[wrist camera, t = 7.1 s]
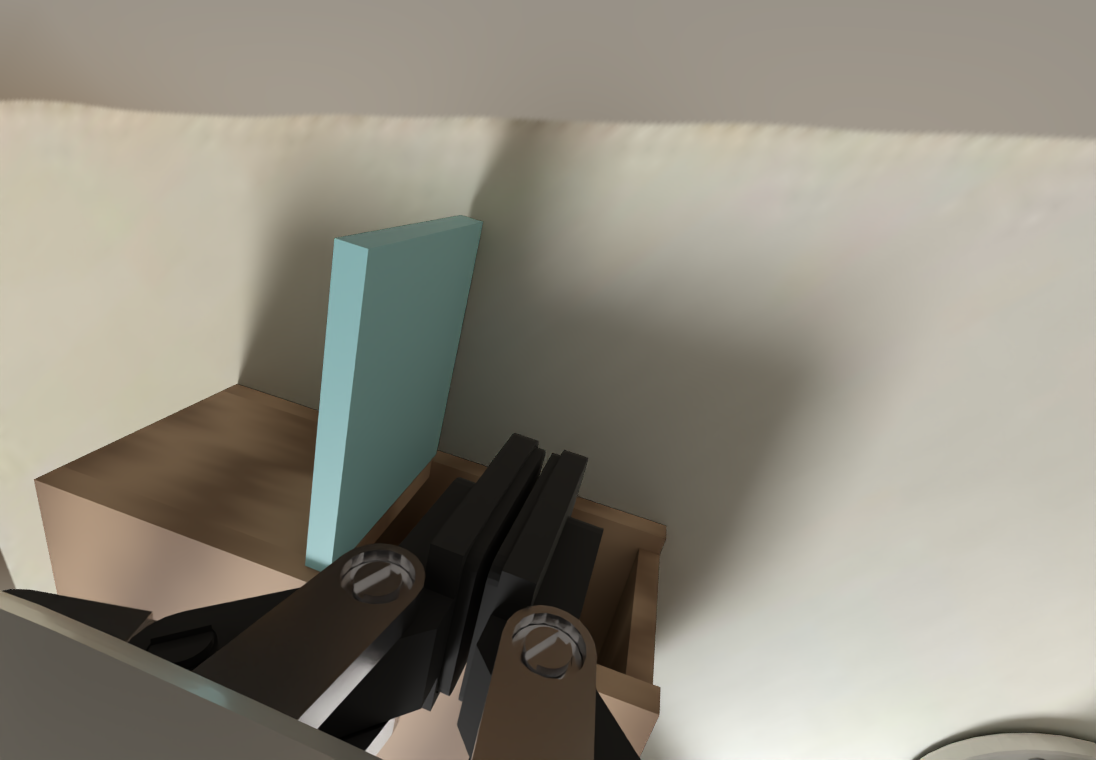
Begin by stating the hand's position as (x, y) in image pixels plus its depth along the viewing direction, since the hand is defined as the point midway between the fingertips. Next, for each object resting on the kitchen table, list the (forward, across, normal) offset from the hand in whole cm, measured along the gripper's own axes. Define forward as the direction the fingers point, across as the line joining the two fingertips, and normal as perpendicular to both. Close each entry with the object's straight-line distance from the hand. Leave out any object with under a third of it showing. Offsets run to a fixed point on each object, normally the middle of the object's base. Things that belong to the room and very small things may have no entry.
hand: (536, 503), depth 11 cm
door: (+12, +8, +2) cm, 15 cm away
